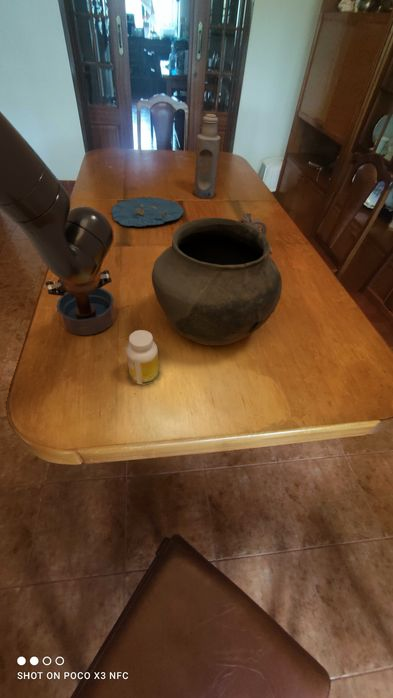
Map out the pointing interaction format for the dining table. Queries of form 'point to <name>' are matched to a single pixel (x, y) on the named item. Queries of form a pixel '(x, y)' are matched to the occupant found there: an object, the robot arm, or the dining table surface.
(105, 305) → the bowl
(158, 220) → the decorative plate
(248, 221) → the spaceship
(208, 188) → the bottle
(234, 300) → the pot
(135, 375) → the pill bottle
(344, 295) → the dining table surface
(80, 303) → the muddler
